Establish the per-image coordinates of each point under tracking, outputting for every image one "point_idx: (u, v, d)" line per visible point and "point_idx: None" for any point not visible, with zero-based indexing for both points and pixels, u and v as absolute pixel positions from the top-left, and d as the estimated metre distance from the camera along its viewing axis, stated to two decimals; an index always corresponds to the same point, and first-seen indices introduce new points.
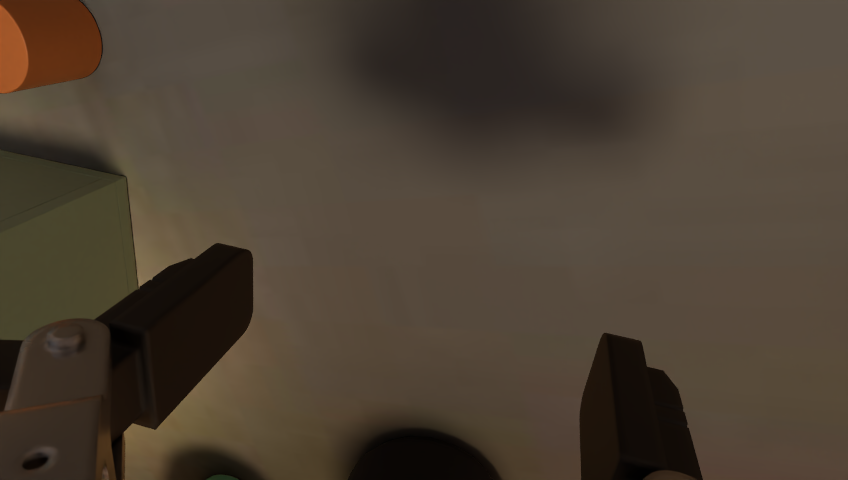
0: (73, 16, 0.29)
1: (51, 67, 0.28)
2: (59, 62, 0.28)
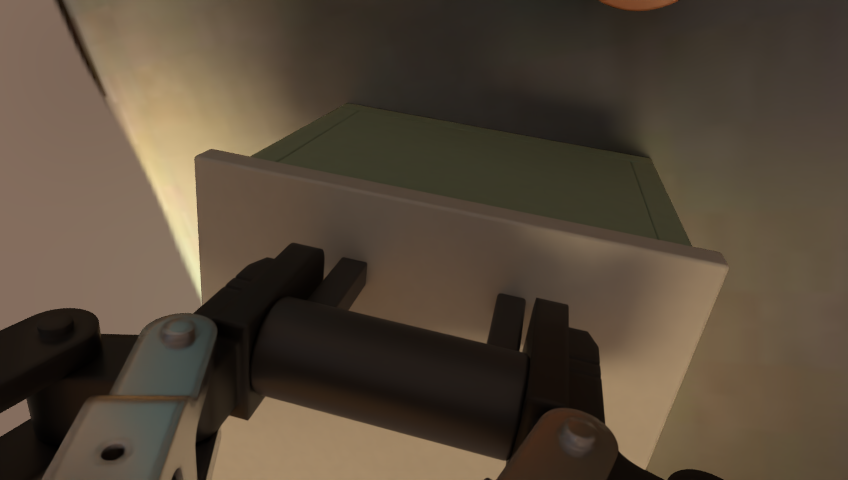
0: None
1: None
2: None
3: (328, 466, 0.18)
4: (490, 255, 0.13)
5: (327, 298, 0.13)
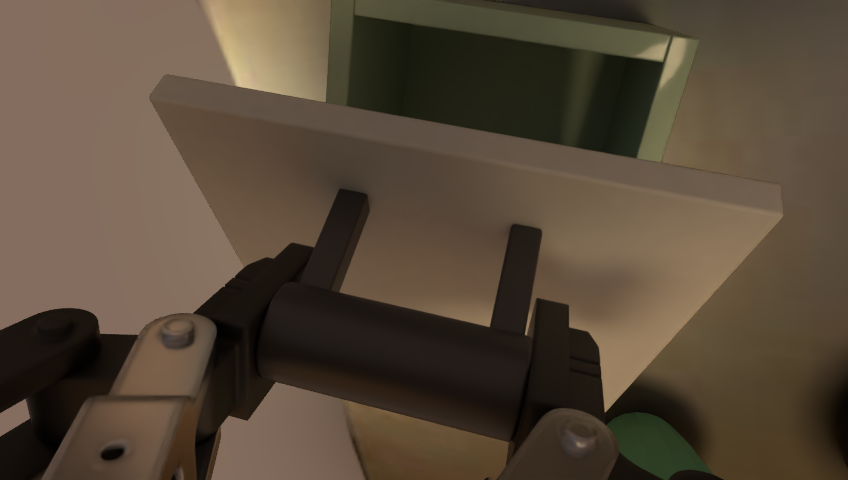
0: None
1: None
2: None
3: None
4: (500, 194, 0.12)
5: (326, 263, 0.12)
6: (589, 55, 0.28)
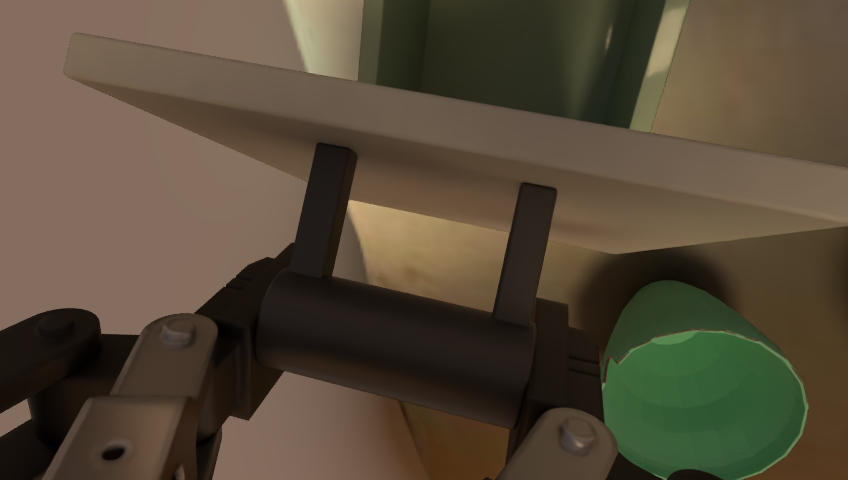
0: None
1: None
2: None
3: (392, 191, 0.18)
4: (501, 168, 0.10)
5: (313, 246, 0.11)
6: None
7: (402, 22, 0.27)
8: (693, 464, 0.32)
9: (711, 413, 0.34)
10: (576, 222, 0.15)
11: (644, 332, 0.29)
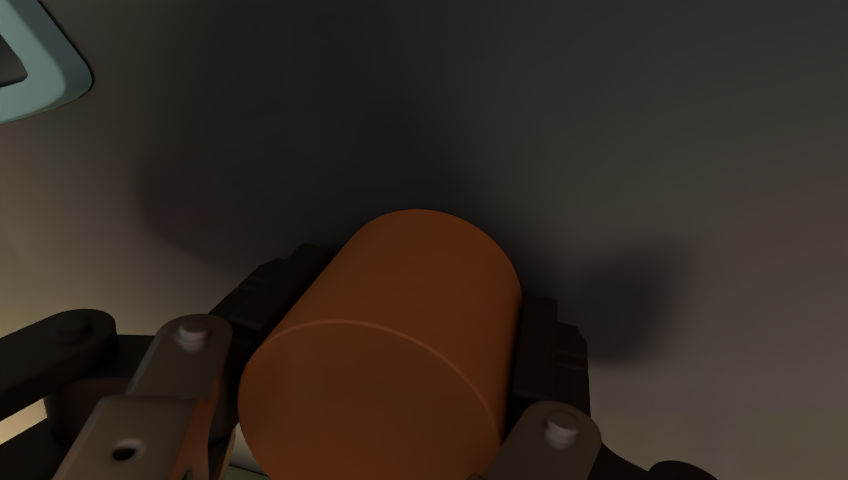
0: (508, 294, 0.12)
1: None
2: None
3: None
4: None
5: None
6: None
7: None
8: None
9: None
10: None
11: None
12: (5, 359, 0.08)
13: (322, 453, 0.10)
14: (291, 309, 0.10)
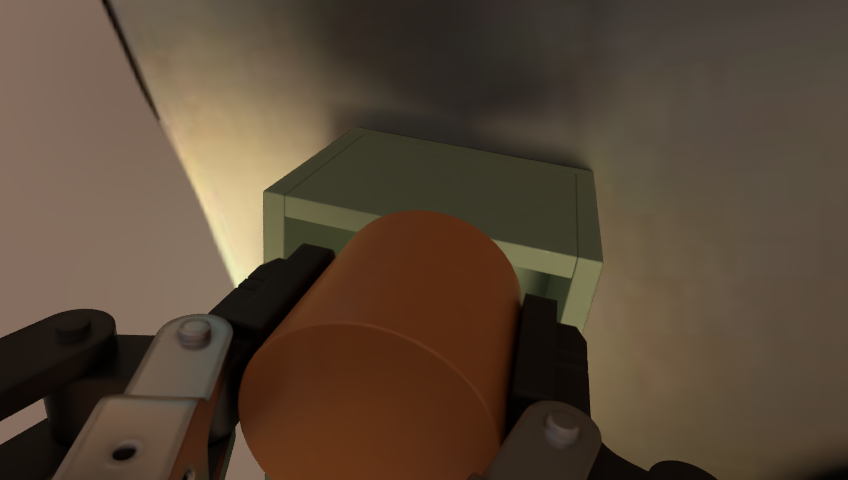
0: (508, 295, 0.12)
1: None
2: None
3: None
4: None
5: None
6: None
7: None
8: None
9: None
10: None
11: None
12: (5, 359, 0.08)
13: (323, 454, 0.10)
14: (292, 310, 0.10)
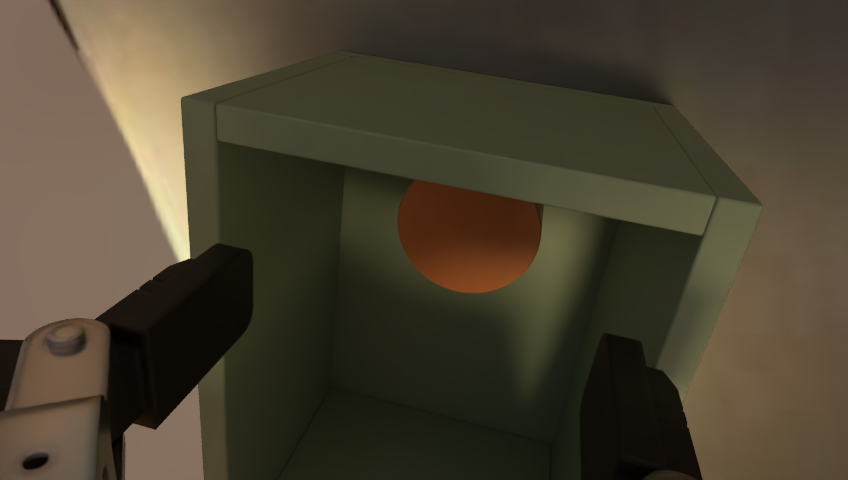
0: None
1: None
2: None
3: None
4: None
5: None
6: None
7: (278, 346, 0.20)
8: None
9: None
10: None
11: None
12: None
13: (443, 241, 0.18)
14: None
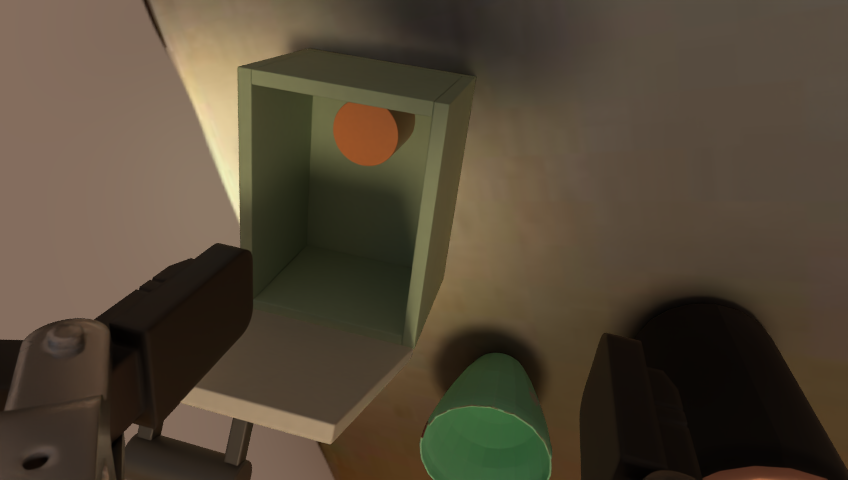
0: None
1: (399, 146, 0.40)
2: (402, 142, 0.40)
3: None
4: None
5: None
6: None
7: (276, 196, 0.40)
8: None
9: (516, 453, 0.47)
10: None
11: (446, 404, 0.42)
12: None
13: (354, 139, 0.39)
14: None
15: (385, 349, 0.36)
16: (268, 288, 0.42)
